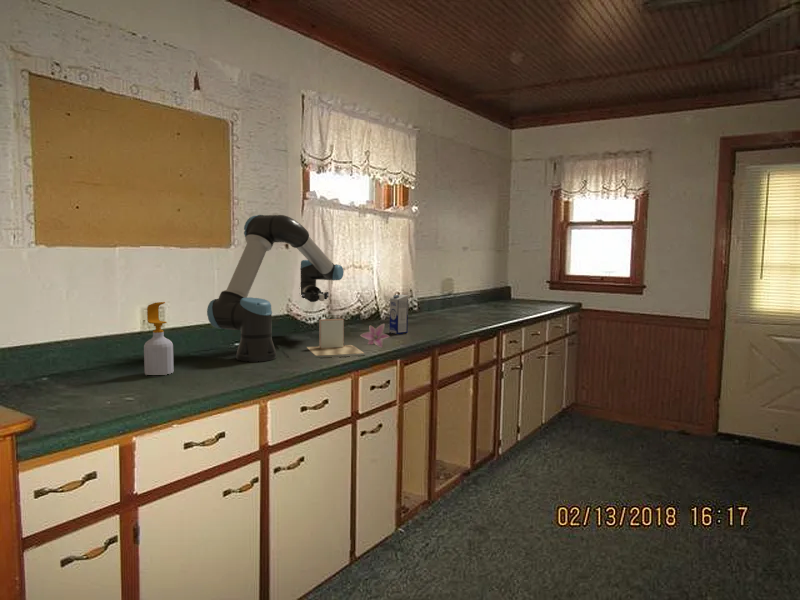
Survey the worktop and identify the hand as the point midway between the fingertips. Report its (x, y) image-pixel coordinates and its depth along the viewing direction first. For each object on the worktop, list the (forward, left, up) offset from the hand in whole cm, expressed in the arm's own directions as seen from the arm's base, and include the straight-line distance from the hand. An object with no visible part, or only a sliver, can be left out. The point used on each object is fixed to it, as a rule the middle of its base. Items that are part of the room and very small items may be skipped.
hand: (322, 298), depth 245 cm
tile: (+2, -9, -20) cm, 23 cm away
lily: (+23, -5, -22) cm, 32 cm away
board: (+2, -15, -22) cm, 27 cm away
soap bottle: (-64, -36, -22) cm, 77 cm away
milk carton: (+46, +29, -22) cm, 58 cm away
